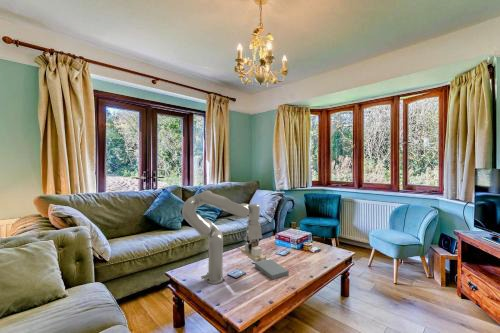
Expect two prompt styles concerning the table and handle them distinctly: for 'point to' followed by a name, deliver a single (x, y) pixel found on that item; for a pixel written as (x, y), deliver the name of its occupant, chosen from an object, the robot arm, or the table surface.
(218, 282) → the robot arm
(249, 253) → the pallet
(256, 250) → the crate
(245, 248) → the block
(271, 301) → the table surface
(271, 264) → the dock
